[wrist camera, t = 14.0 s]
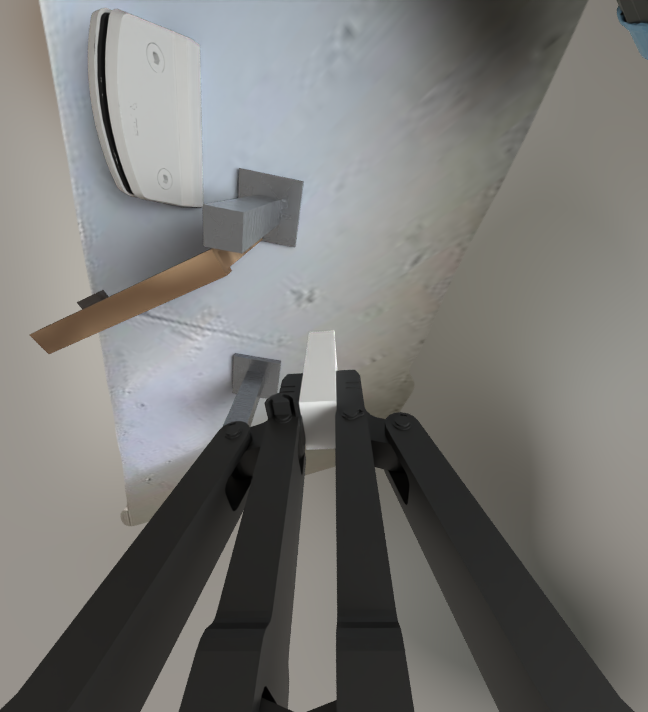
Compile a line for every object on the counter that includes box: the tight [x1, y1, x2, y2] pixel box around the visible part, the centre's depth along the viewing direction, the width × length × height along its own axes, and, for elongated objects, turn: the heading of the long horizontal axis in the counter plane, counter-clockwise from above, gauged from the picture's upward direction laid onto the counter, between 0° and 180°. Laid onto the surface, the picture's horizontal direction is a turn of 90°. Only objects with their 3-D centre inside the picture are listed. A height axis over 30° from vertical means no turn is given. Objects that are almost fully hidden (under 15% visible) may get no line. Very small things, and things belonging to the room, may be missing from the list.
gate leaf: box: [30, 238, 263, 354], centre depth 35 cm, size 3×22×17 cm, turn 113°
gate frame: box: [203, 168, 304, 427], centre depth 38 cm, size 8×36×20 cm, turn 170°
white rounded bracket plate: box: [88, 8, 203, 207], centre depth 32 cm, size 17×5×10 cm, turn 170°
